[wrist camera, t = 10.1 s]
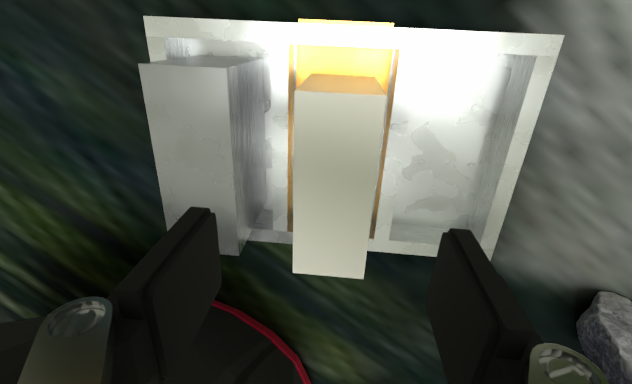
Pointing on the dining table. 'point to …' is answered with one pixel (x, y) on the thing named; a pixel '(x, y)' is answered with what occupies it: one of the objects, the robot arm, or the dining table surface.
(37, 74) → the dining table surface
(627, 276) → the dining table surface
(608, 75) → the dining table surface
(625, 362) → the rock
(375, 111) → the off-white rectangular block
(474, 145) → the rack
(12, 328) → the helmet
